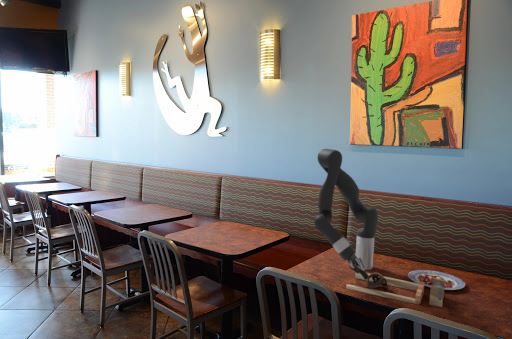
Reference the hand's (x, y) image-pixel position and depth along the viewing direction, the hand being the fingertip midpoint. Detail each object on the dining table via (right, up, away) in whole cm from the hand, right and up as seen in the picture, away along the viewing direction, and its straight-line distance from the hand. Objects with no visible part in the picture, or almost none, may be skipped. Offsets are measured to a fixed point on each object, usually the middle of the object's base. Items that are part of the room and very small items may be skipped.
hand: (367, 278), depth 189 cm
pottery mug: (+4, -4, -2) cm, 6 cm away
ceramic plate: (+36, -5, +8) cm, 38 cm away
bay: (+7, -4, -3) cm, 9 cm away
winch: (+26, -6, -15) cm, 31 cm away
